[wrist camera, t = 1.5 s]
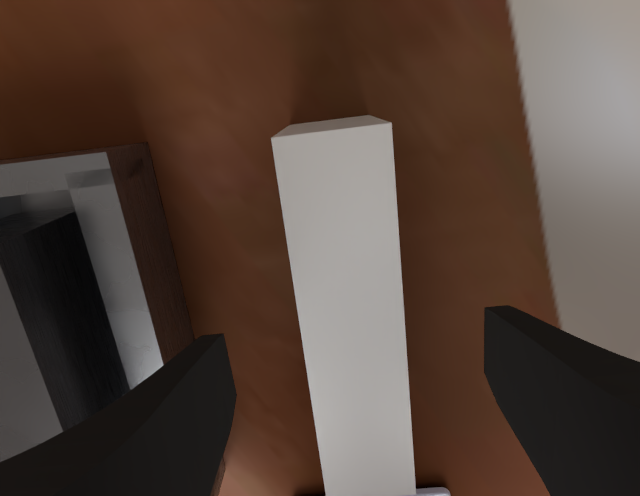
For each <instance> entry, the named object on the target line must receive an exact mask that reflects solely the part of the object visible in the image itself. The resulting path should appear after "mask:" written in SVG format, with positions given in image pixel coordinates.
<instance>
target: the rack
mask: <svg viewBox="0 0 640 496" xmlns="http://www.w3.org/2000/svg"><path fill="white" fill-rule="evenodd" d="M193 341H195V339H194V335H193V331H192V327H191V323H190V319H189V314H188V310H187V306H186V302H185V298H184V293H183V289H182V285H181V281H180V277H179V273H178V268H177V264H176V260H175V256H174V252H173V247H172V243H171V239H170V235H169V231H168V226H167V222H166V218H165V214H164V210H163V206H162V201H161V197H160V193H159V189H158V185H157V180H156V176H155V172H154V168H153V164H152V160H151V155H150V151H149V147H148V143H147V142H145V143H137V144H129V145H121V146H113V147H104V148H96V149H88V150H80V151H72V152H64V153H55V154H47V155H39V156H31V157H23V158H15V159H6V160H0V462H2V461H4V460H6V459H8V458H11V457H13V456H15V455H17V454H20V453H22V452H24V451H26V450H28V449H30V448H32V447H35V446H37V445H39V444H41V443H43V442H45V441H47V440H48V439H50V438H52V437H54V436H56V435H58V434H60V433H62V432H63V431H65V430H67V429H69V428H71V427H73V426H75V425H77V424H79V423H80V422H82V421H84V420H86V419H87V418H89V417H91V416H92V415H94V414H95V413H97V412H99V411H100V410H102V409H104V408H105V407H107V406H108V405H110V404H111V403H113V402H115V401H116V400H118V399H119V398H120V397H122V396H123V395H125V394H126V393H128V392H129V391H130V390H132V389H133V388H134V387H136V386H137V385H138V384H140V383H141V382H142V381H144V380H145V379H147V378H148V377H149V376H151V375H152V374H153V373H155V372H156V371H157V370H158V369H160V368H161V367H162V366H163V365H165V364H166V363H167V362H168V361H170V360H171V359H172V358H173V357H175V356H176V355H177V354H178V353H180V352H181V351H182V350H183V349H185V348H186V347H187V346H188V345H190V344H191V343H192V342H193ZM224 473H225V465H224V461H223V457H222V459H221V462H220V466H219V469H218V472H217V475H216V478H215V481H214V485H213V488H212V491H211V494H210V496H218V495H219V491H220V487H221V484H222V480H223V476H224Z"/></svg>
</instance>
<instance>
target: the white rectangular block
mask: <svg viewBox="0 0 640 496" xmlns="http://www.w3.org/2000/svg"><path fill="white" fill-rule="evenodd" d="M271 142H272V148H273V155H274V161H275V168H276V174H277V181H278V187H279V194H280V200H281V207H282V213H283V220H284V226H285V233H286V240H287V246H288V253H289V259H290V266H291V272H292V279H293V285H294V292H295V298H296V305H297V311H298V318H299V324H300V331H301V337H302V344H303V350H304V357H305V363H306V370H307V376H308V383H309V389H310V396H311V402H312V409H313V415H314V422H315V428H316V435H317V441H318V448H319V454H320V461H321V467H322V474H323V480H324V487H325V493H326V496H402V495H414V494H416V484H415V469H414V454H413V439H412V424H411V408H410V393H409V378H408V363H407V348H406V333H405V318H404V303H403V287H402V272H401V257H400V242H399V227H398V212H397V197H396V181H395V166H394V151H393V136H392V123H391V122H388V121H385V120H382V119H379V118H376V117H374V116H371V115H364V116H357V117H349V118H341V119H333V120H325V121H317V122H309V123H301V124H293V125H289V126H287V127H286V128H284V129H283V130H281V131H280V132H279V133H277V134H276V135H274V136H273V137H271Z"/></svg>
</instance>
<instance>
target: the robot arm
mask: <svg viewBox="0 0 640 496" xmlns="http://www.w3.org/2000/svg"><path fill="white" fill-rule="evenodd" d="M484 373H485V375H486V378H487V380H488V383H489V385H490V388H491V390H492V392H493V395H494V397H495V399H496V401H497V404H498V406H499V407H500V409H501V411H502V413H503V414H504V416H505V418H506V419H507V421H508V423H509V425H510V426H511V428H512V430H513V431H514V433H515V435H516V436H517V438H518V440H519V441H520V443H521V445H522V447H523V448H524V450H525V452H526V453H527V455H528V457H529V458H530V460H531V462H532V463H533V465H534V467H535V468H536V470H537V472H538V473H539V475H540V477H541V478H542V480H543V482H544V484H545V486H546V488H547V490H548V491H549V493H550V495H551V496H640V362H637V361H635V360H632V359H629V358H626V357H624V356H620V355H618V354H616V353H613V352H611V351H608V350H606V349H603V348H601V347H599V346H596V345H594V344H591V343H589V342H587V341H584V340H582V339H580V338H578V337H575V336H573V335H571V334H569V333H567V332H565V331H562V330H560V329H558V328H556V327H554V326H552V325H550V324H548V323H546V322H544V321H542V320H540V319H537V318H535V317H533V316H531V315H529V314H527V313H525V312H523V311H521V310H518V309H516V308H514V307H511V306H508V305H506V306H496V307H486V308H485V321H484ZM236 396H237V394H236V389H235V385H234V380H233V376H232V371H231V366H230V362H229V357H228V352H227V348H226V343H225V338H224V334H213V335H203V336H201V337H199V338H198V339H196V340H195V341H193V342H192V343H191V344H190V345H188V346H187V347H186V348H185V349H183V350H182V351H181V352H180V353H178V354H177V355H176V356H175V357H173V358H172V359H171V360H170V361H168V362H167V363H166V364H165V365H163V366H162V367H161V368H160V369H158V370H157V371H156V372H155V373H153V374H152V375H151V376H149V377H148V378H147V379H145V380H144V381H142V382H141V383H140V384H138V385H137V386H136V387H134V388H133V389H132V390H130V391H129V392H128V393H126V394H125V395H123V396H122V397H120V398H119V399H118V400H116V401H115V402H113V403H111V404H110V405H108V406H107V407H105V408H104V409H102V410H100V411H99V412H97V413H95V414H94V415H92V416H91V417H89V418H87V419H86V420H84V421H82V422H80V423H79V424H77V425H75V426H73V427H71V428H69V429H67V430H65V431H63V432H62V433H60V434H58V435H56V436H54V437H52V438H50V439H48V440H47V441H45V442H43V443H41V444H39V445H37V446H35V447H32V448H30V449H28V450H26V451H24V452H22V453H20V454H17V455H15V456H13V457H11V458H8V459H6V460H4V461H2V462H0V496H210V494H211V491H212V488H213V485H214V481H215V478H216V475H217V472H218V469H219V466H220V462H221V459H222V456H223V453H224V450H225V446H226V443H227V440H228V437H229V433H230V430H231V426H232V420H233V415H234V409H235V402H236ZM402 496H451V495H450V491H449V490H448V489H446V488H444V487H433V488H421V489H416V494H414V495H402Z"/></svg>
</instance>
